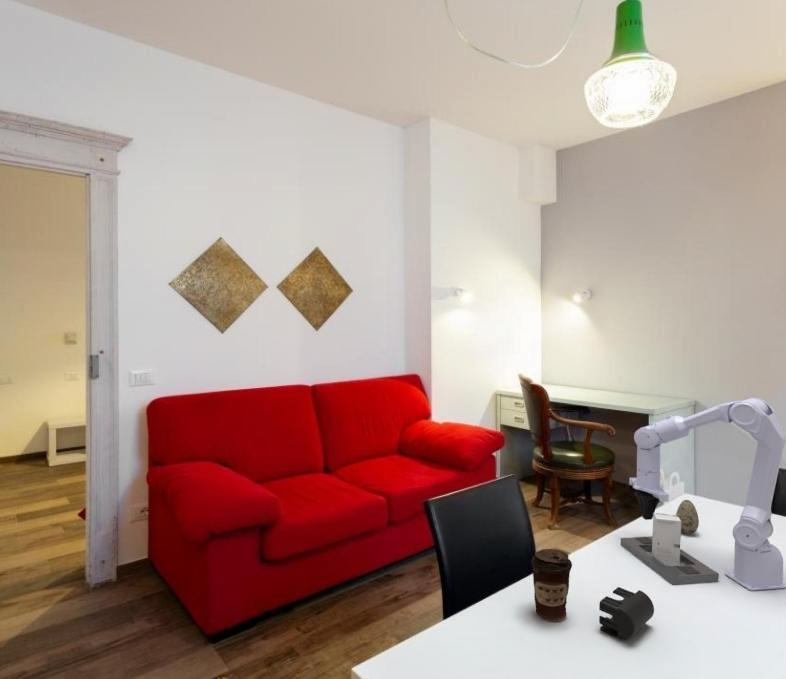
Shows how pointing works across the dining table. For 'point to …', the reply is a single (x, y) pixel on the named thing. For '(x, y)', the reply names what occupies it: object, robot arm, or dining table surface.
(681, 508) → the decorative egg
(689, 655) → the dining table surface
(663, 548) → the skincare box
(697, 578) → the plate
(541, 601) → the coffee cup
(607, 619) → the end cap
